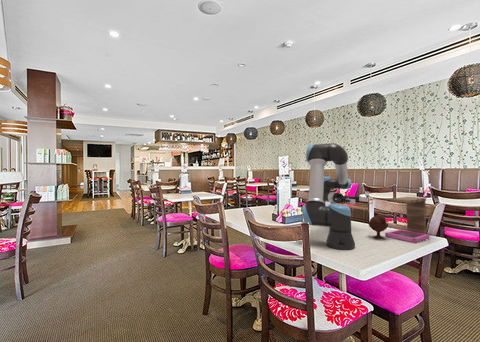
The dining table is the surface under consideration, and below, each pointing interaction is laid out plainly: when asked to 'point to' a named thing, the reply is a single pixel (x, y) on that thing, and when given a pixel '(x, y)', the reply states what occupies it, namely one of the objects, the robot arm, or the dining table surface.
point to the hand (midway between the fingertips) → (361, 200)
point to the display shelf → (415, 213)
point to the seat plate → (407, 236)
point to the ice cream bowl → (378, 225)
